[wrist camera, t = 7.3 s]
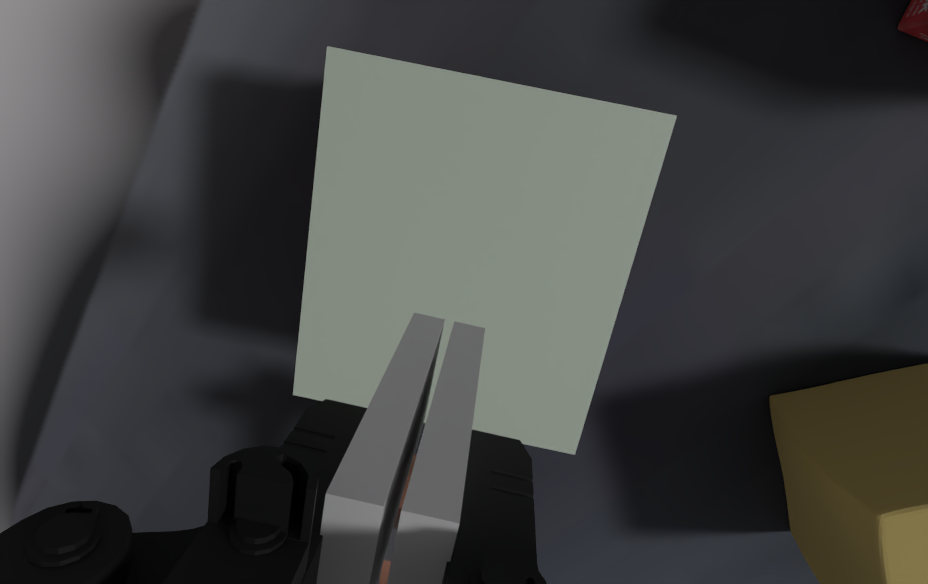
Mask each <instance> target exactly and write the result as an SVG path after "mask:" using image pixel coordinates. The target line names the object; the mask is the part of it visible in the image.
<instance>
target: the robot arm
mask: <svg viewBox="0 0 928 584" xmlns="http://www.w3.org/2000/svg"><path fill="white" fill-rule="evenodd" d="M444 322H445V319H441V318H437V317H432V316H428V315H423V314H418V313H414V314H413V316H412V318H411V320H410V322H409V324H408V326H407V328H406V330H405V332H404V334H403V336H402V339H401V341H400V343H399V345H398V347H397V349H396V351H395V353H394V355H393V357H392V359H391V361H390V363H389V365H388V367H387V369H386V371H385V373H384V375H383V377H382V379H381V381H380V383H379V386H378V388H377V390H376V392H375V394H374V396H373V398H372V400H371V402H370V404H369V406H368V408H365V407H360V406H356V405H351V404H347V403H342V402H338V401H333V400H329V399H325V400H323V401H322V402H320V403H318V404H316V405H315V406H313V407H311V408H309V409H308V410H306V411H305V412H304V414H303V415H302V417H301V418H300V420H299V421H298V423H297V424H296V426H295V427H294V430H293V431H291V433H290V434H289V436H288V437H287V439H286V440H285V442H284V445H282V446H281V447H270V446H260V447H253V448H246V449H242V450H239V451H237V452H235V453H232V454H230V455H227V456H225V457H223V458H222V459H221V460H220V461H219V462H217V463H216V464H215V465H214V466H213V467H211V470H210V489H209V507H208V522H207V523H206V524H205V526H202V527H198V528H195V529H189V530H181V531H168V532H142V533H132V527H131V523H130V520H129V516H128V515H127V514H126V513H124V512H123V511H122V510H121V509H119V508H118V507H117V506H115V505H111V504H107V503H103V502H99V501H76V502H69V503H65V504H61V505H57V506H53V507H49V508H46V509H44V510H42V511H40V512H38V513H36V514H33V515H31V516H29V517H27V518H25V519H23V520H21V521H20V522H18V523H16V524H15V525H13V526H12V527H10V528H8V529H7V530H5V531H3V532H2V533H0V584H377V582H378V579H379V575H380V572H381V568H382V565H383V561H384V558H385V554H386V551H387V548H388V544H389V541H390V537H391V534H392V530H393V527H394V523H395V520H396V516H397V513H398V509H399V506H400V502H401V499H402V495H403V492H404V488H405V485H406V482H407V478H408V475H409V471H410V468H411V464H412V461H413V457H414V454H415V450H416V447H417V443H418V440H419V436H420V433H421V429H422V426H423V422H424V419H425V415H426V410H427V405H428V401H429V396H430V391H431V386H432V381H433V376H434V371H435V366H436V361H437V356H438V351H439V346H440V341H441V336H442V331H443V327H444ZM484 333H485V328H482V327H478V326H473V325H469V324H464V323H460V322H455V321H454V324H453V328H452V331H451V335H450V338H449V342H448V346H447V349H446V353H445V356H444V360H443V363H442V367H441V371H440V374H439V378H438V381H437V385H436V388H435V392H434V396H433V399H432V403H431V406H430V410H429V413H428V417H427V420H426V424H425V428H424V431H423V435H422V438H421V442H420V445H419V449H418V453H417V456H416V460H415V463H414V467H413V470H412V474H411V478H410V481H409V485H408V488H407V492H406V495H405V499H404V503H403V506H402V510H401V514H400V519H399V525H398V530H397V535H396V540H395V545H394V550H393V555H392V560H391V565H390V570H389V575H388V580H387V584H546V581H545V580H544V578H543V577H542V575H541V574H540V573H539V571H538V566H537V554H536V535H535V515H534V499H533V482H532V479H533V476H532V459H531V457H530V456H529V454H528V452H527V451H526V449H525V447H524V446H523V444H522V442H521V441H520V440H517V439H513V438H508V437H504V436H499V435H495V434H490V433H486V432H481V431H477V430H472V425H473V417H474V410H475V402H476V394H477V387H478V379H479V371H480V364H481V356H482V348H483V341H484Z"/></svg>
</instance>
